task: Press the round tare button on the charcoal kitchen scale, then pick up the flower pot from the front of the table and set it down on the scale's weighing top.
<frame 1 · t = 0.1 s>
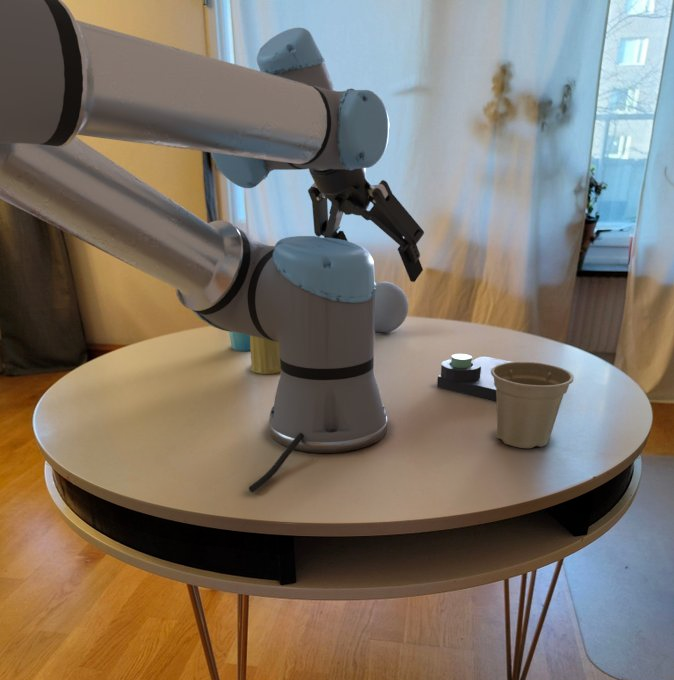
hand: (383, 271, 101), 15 cm above the table, tool tilted 35°, fingers open, 13 cm apart
flower pot: (523, 440, 76), on the table
vase: (269, 370, 104), on the table
decorative stone: (382, 332, 126), on the table
cup: (241, 348, 116), on the table
tare button: (461, 361, 93), point 4 cm above the table, slide at 0.1 cm
scale: (496, 383, 95), on the table
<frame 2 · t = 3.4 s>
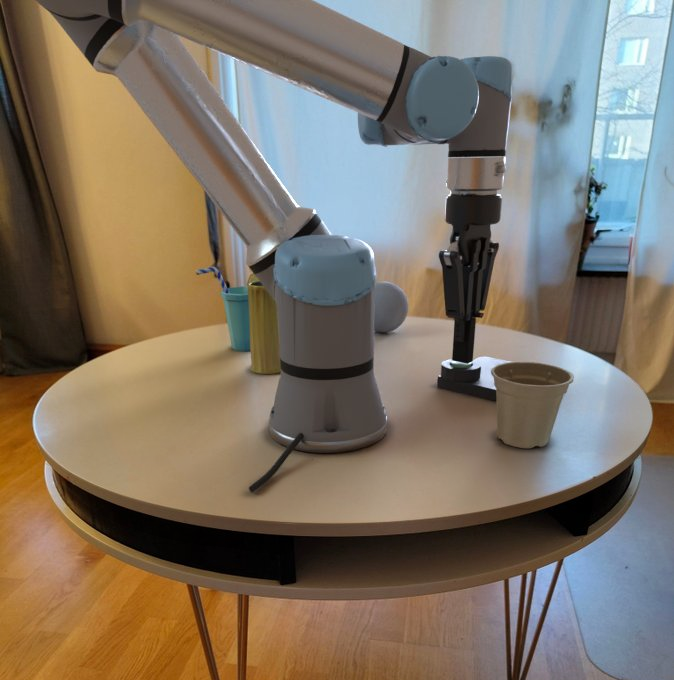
hand: (462, 360, 93), 4 cm above the table, tool pointing down, fingers closed
tare button: (460, 367, 93), point 3 cm above the table, slide at -0.8 cm, touching gripper
everything else where it was.
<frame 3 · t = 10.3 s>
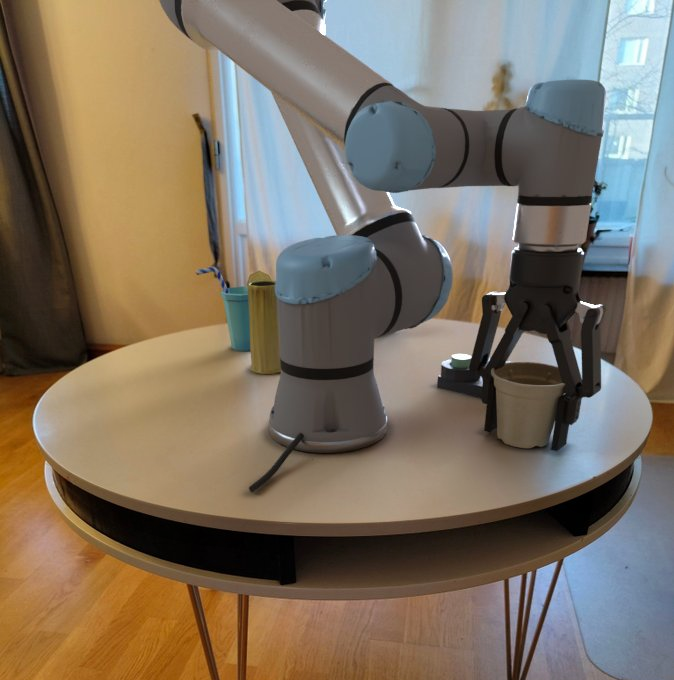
hand: (524, 437, 76), 0 cm above the table, tool pointing down, fingers closed on flower pot, 8 cm apart
flower pot: (523, 440, 76), on the table, touching gripper
tare button: (461, 361, 93), point 4 cm above the table, slide at 0.1 cm
everything else where it was.
when the fingers open (2 cm above the table, at t = 17.0 s): flower pot stays where it is, resting on scale.
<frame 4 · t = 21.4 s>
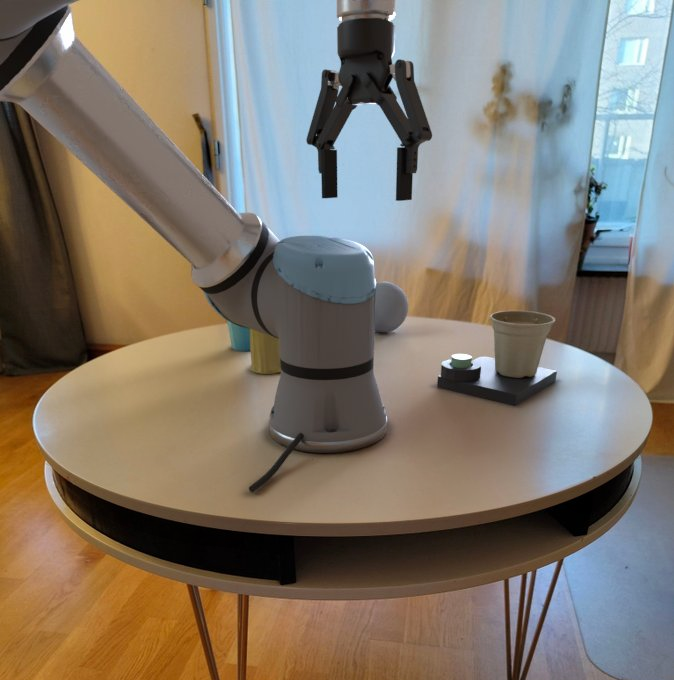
hand: (365, 199, 88), 27 cm above the table, tool pointing down, fingers open, 13 cm apart
flower pot: (515, 373, 95), point 2 cm above the table, touching scale
everything else where it was.
at the end: tare button pushed in 1.1 cm at the most during the clip, back to where it started at the end; flower pot inside the target area on the scale (1.5 cm from its centre), point 1.5 cm above the scale's base; flower pot tilted 0° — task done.
